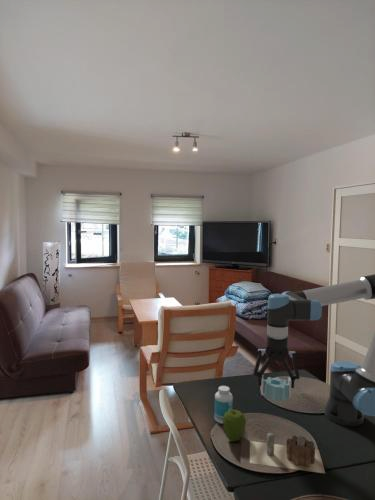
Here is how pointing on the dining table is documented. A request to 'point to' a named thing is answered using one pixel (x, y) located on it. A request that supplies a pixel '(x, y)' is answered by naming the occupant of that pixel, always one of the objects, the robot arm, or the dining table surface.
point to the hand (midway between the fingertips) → (275, 394)
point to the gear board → (281, 455)
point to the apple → (234, 424)
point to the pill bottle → (222, 403)
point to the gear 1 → (275, 389)
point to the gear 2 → (300, 452)
